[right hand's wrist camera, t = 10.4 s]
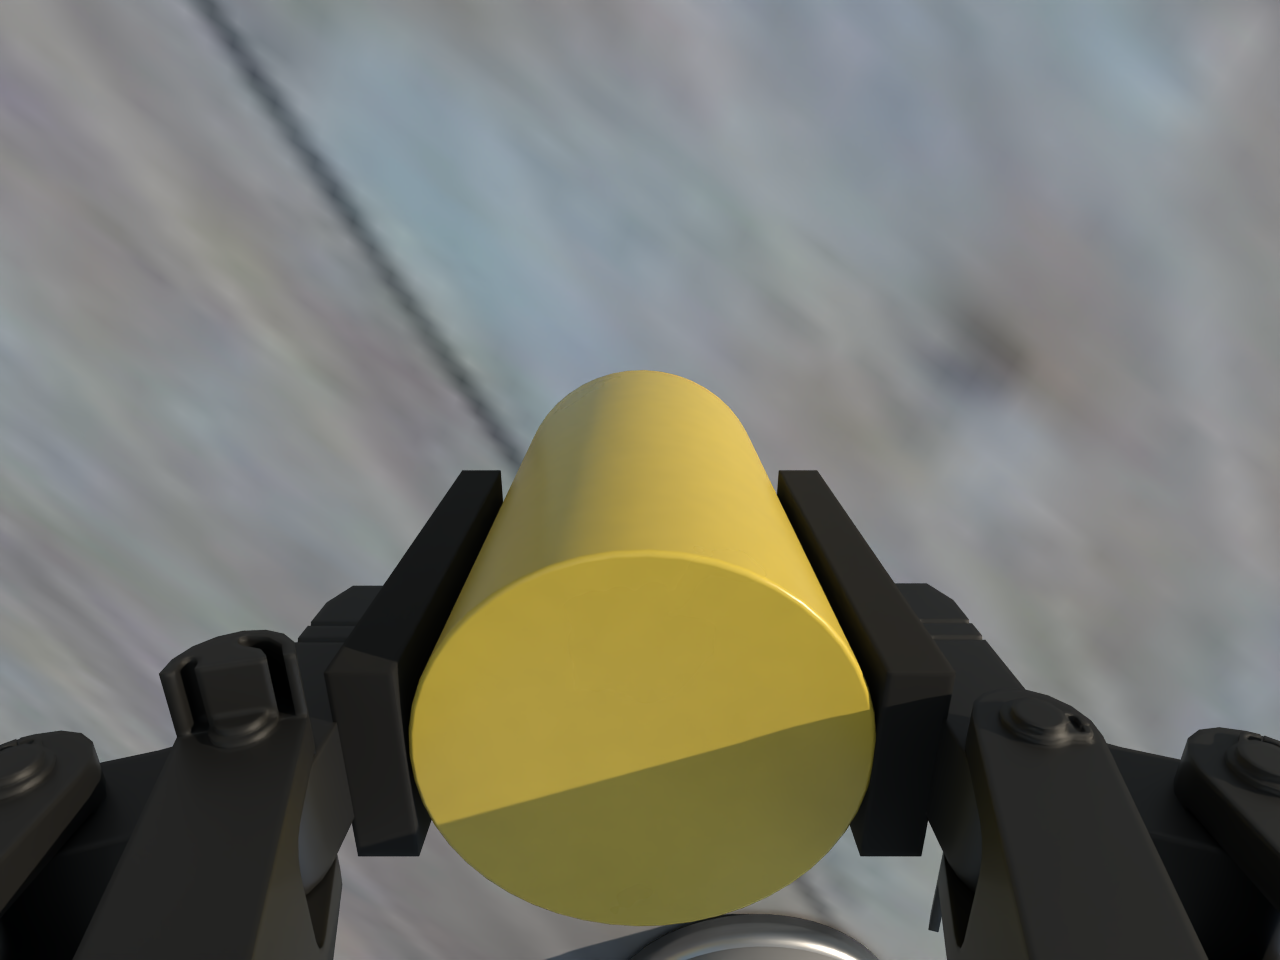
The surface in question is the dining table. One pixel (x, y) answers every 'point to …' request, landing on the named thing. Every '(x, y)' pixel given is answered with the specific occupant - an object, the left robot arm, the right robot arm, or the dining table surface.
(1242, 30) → the dining table surface
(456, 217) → the dining table surface
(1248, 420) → the dining table surface
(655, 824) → the canister
